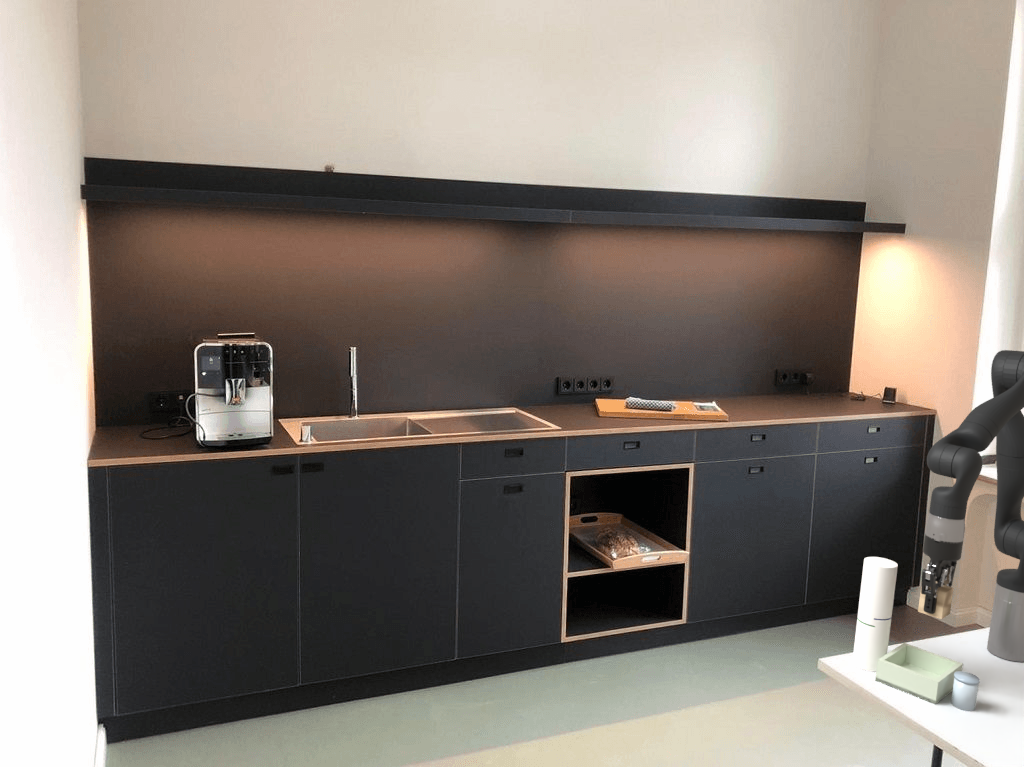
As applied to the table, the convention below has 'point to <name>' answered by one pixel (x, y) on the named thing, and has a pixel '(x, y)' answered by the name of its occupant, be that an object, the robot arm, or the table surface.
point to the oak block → (939, 602)
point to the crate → (918, 672)
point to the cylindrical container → (874, 612)
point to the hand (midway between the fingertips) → (933, 609)
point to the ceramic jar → (965, 691)
